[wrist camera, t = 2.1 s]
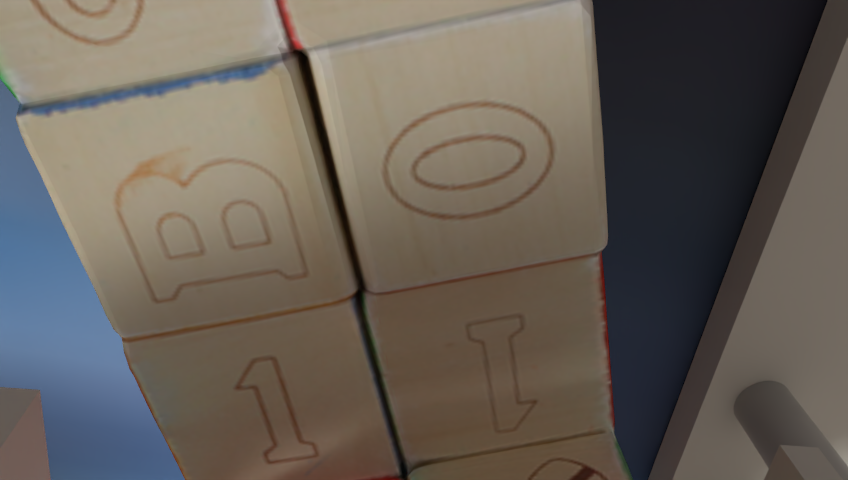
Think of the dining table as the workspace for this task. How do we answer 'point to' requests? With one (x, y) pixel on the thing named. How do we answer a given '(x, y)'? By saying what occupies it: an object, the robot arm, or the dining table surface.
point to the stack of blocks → (337, 226)
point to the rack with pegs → (779, 299)
